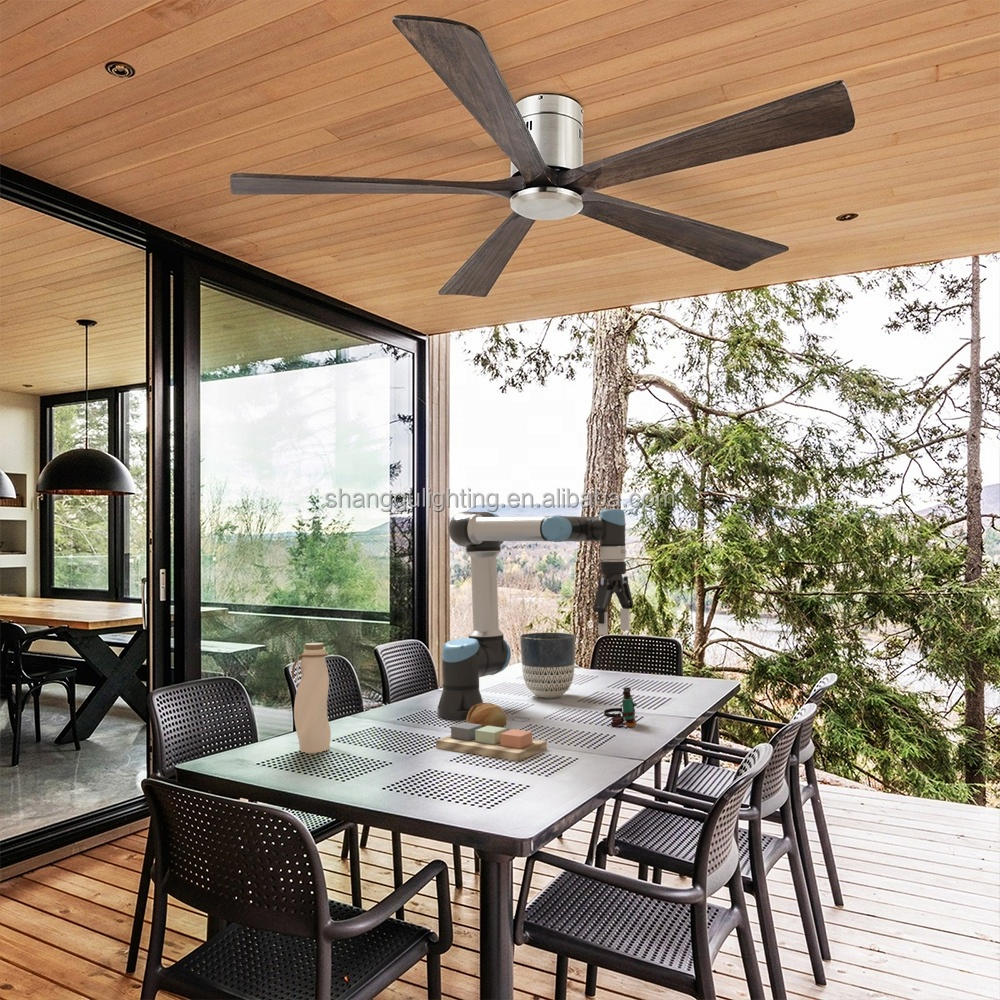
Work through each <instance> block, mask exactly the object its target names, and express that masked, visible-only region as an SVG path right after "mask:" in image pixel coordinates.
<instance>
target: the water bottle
mask: <svg viewBox="0 0 1000 1000" xmlns="http://www.w3.org/2000/svg"><path fill="white" fill-rule="evenodd" d="M325 649H326V648H325V647H324V642H308V643H307V642H306V643H304V649H303V652H302V653H301V654H297V658H296V659H295V661H294V662H293V665H292V669H291V679H295V668H296V679H295V683H296V684H297V683H298V681H299V670H300V674H301V678H300V681H299V684H298V685H297V689H296V693H295V697H294V707H293V718H294V719H293V720H294V726H295V730H296V735H297V739H298V743H299V752H300V751H301V752H300V753H302V752H305V753H304V754H318V753H317V752H320V753H323V752H322V751H325V752H327V751H329V750H330V747H331V746H330V745H331V735H332V732H331V725H330V722H329V719H328V697H329V687H330V678H329V670H328V665H327V663H326V662H327V661H326V657H327V656H329V652H326V650H325ZM300 659H301V661H300ZM299 665H300V667H299ZM299 668H300V669H299ZM328 749H329V750H328ZM326 750H327V751H326Z"/></svg>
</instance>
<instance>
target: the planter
mask: <svg viewBox="0 0 1000 1000" xmlns="http://www.w3.org/2000/svg"><path fill="white" fill-rule="evenodd" d="M519 639H520V640H519V641H520V643H519V644H520V655H521V656H520V657H521V670H522V677H523V681H524V683H525V685H526V688H527V689H528V690H529V691H530V693H532V694H533V695H534V696H537V697H539V698H542V699H555V698H558V697H561V696H562V695H564V694H565V693H566V692H567V691H568V690H569V689H570V687H571V685H572V684H573V679H574V676H575V662H576V635H575V634H572V633H567V632H531V633H524V634H520V636H519Z"/></svg>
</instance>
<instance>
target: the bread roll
mask: <svg viewBox="0 0 1000 1000" xmlns="http://www.w3.org/2000/svg"><path fill="white" fill-rule="evenodd" d="M507 720H508V718H507V715H506V713H505V710H503V707H501V706H499V705H497V704H495V703H491V702H483V703H480V704H476V705H474V706H473V707H471V709H470V710H469V712H468V714H467V719H465V722H466V723H473V724H480V725H482V728H483V727H485V726H494V727H501V728H505V726H506V725H507V724H508V723H507V722H508V721H507Z"/></svg>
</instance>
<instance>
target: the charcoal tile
mask: <svg viewBox="0 0 1000 1000" xmlns="http://www.w3.org/2000/svg"><path fill="white" fill-rule="evenodd" d="M480 728H482V725H480V724H473V723H466V721H464V722H461V723H458V724H454V725H451V726H450V735H451V738H455V739H462V740H465V741H467V740H468V741H470V740H472V739H475V730H477V729H480Z"/></svg>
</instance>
